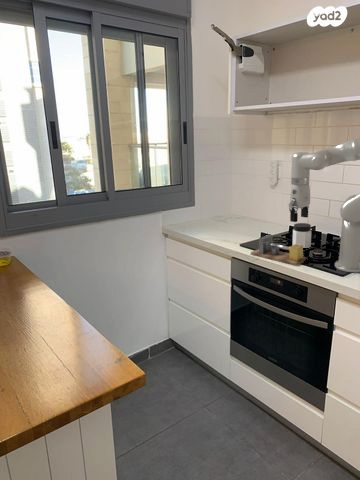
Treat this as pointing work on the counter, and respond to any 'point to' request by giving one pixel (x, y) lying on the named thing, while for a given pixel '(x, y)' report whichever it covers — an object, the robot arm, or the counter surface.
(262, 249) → the grey arch
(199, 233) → the counter surface
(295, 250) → the hook rod
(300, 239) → the jar
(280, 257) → the board
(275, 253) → the cradle
